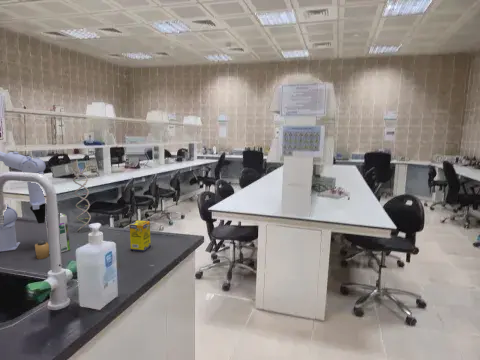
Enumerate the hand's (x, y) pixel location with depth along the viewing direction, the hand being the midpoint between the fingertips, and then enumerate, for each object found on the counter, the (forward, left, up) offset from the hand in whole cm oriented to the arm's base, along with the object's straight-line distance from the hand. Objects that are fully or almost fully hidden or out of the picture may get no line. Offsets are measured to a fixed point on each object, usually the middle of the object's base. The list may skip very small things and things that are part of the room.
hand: (41, 222), depth 125 cm
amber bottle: (+1, -10, -10) cm, 15 cm away
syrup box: (+6, -6, -11) cm, 14 cm away
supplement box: (+36, -16, -11) cm, 41 cm away
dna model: (+14, +16, -11) cm, 24 cm away
